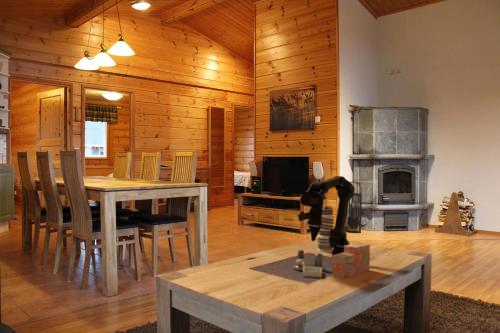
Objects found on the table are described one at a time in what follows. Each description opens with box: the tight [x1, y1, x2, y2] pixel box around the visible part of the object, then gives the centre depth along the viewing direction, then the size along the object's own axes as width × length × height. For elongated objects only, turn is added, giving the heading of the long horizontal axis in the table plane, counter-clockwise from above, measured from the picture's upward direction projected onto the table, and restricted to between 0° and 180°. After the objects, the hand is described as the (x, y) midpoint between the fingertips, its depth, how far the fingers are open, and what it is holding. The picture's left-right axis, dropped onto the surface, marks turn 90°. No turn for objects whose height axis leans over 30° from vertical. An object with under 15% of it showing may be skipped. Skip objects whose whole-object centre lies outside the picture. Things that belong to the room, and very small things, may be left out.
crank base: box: [292, 261, 307, 272], centre depth 201 cm, size 6×6×4 cm
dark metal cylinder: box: [313, 252, 323, 268], centre depth 203 cm, size 4×4×7 cm
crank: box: [295, 249, 305, 266], centre depth 205 cm, size 11×3×5 cm, turn 170°
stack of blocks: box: [331, 242, 371, 279], centre depth 197 cm, size 21×6×12 cm, turn 135°
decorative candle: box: [317, 205, 335, 253], centre depth 244 cm, size 9×9×25 cm
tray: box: [302, 265, 323, 279], centre depth 193 cm, size 8×8×2 cm
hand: (313, 240), depth 204 cm, fingers open, 9 cm apart
